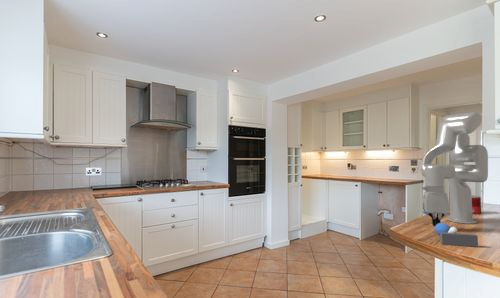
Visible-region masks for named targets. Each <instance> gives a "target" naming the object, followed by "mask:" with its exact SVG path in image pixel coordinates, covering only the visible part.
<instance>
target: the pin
mask: <svg viewBox="0 0 500 298" xmlns="http://www.w3.org/2000/svg"><path fill="white" fill-rule="evenodd" d="M448 233H458V229H457V227H456V226H451V227H450V230H449V231H448Z"/></svg>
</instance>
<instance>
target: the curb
mask: <svg viewBox="0 0 500 298" xmlns="http://www.w3.org/2000/svg"><path fill="white" fill-rule="evenodd" d="M478 238H479V237H478V235H477V234H475V233H460V232H457V233H446V232H440V235H439V240H440V241H439V242H440V244H441V245H446V246H457V247H469V248H470V247H471V248H479V239H478Z"/></svg>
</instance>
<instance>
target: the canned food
mask: <svg viewBox="0 0 500 298" xmlns="http://www.w3.org/2000/svg"><path fill="white" fill-rule="evenodd" d="M471 197H472V214H473V215H477V214H478V215H481V214H482V203H481V201H482V199H481V196H480V195H474V194H473V195H472V194H471Z"/></svg>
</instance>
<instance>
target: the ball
mask: <svg viewBox="0 0 500 298" xmlns="http://www.w3.org/2000/svg"><path fill="white" fill-rule="evenodd" d="M450 228H451V227H450V225H448V224H447V223H444V222H440V223H438V224H437V225H436V226H435V227H434V231H435V234H437V235H438V236H440V232H446V233H448V231H449V230H450Z"/></svg>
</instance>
